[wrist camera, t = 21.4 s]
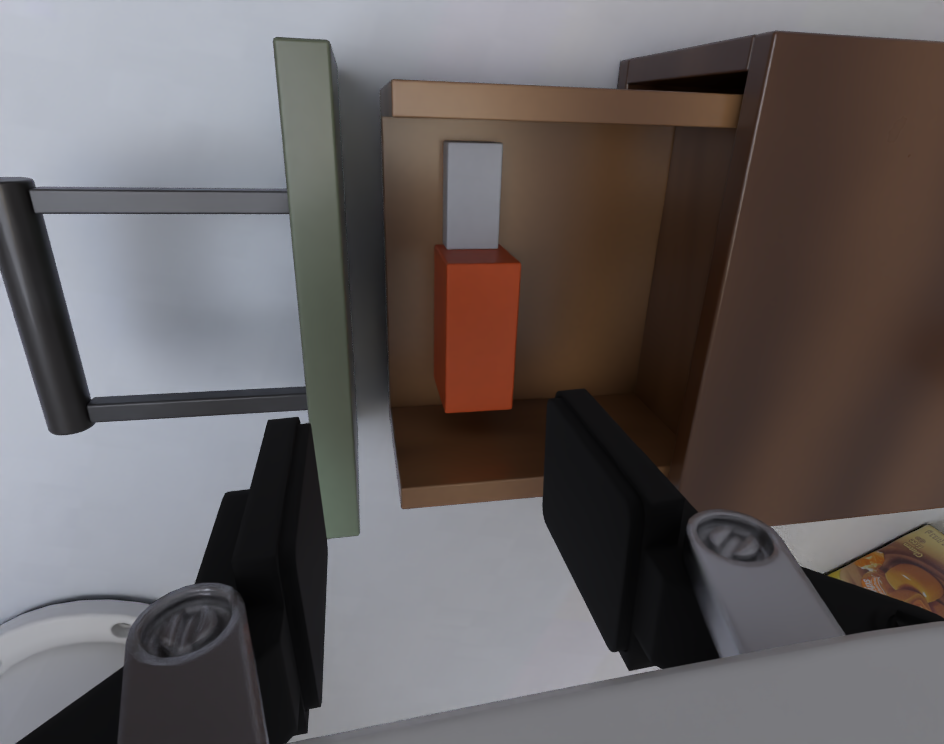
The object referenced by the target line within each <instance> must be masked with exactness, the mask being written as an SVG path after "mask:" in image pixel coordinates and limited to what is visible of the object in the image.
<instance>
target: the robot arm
mask: <svg viewBox="0 0 944 744" xmlns="http://www.w3.org/2000/svg"><path fill="white" fill-rule="evenodd" d="M542 506H543V516H544V520H545V523H546V525H547V527H548V529H549V531H550V533H551V535H552V537H553V539H554V541H555V543H556V545H557V547H558V549H559V551H560V553H561V555H562V557H563V559H564V561H565V563H566V565H567V567H568V569H569V571H570V573H571V575H572V577H573V579H574V581H575V583H576V585H577V587H578V589H579V591H580V593H581V595H582V597H583V599H584V601H585V603H586V605H587V607H588V609H589V611H590V613H591V615H592V617H593V619H594V621H595V623H596V625H597V627H598V629H599V631H600V633H601V635H602V637H603V639H604V641H605V643H606V645H607V647H608V648H609V650H610V651H611V652H617V651H619V653H620V655H621V656H622V658H623V660H624V662H625V664H626V666H627V668H628V670H629V671H631V670H636V669H641V668H647V667H652V666H657V667H659V668H661V670H656V671H650V672H645V673H640V674H635V675H630V676H625V677H619V678H614V679H609V680H604V681H599V682H594V683H588V684H583V685H578V686H573V687H568V688H563V689H558V690H552V691H547V692H542V693H537V694H532V695H527V696H522V697H517V698H512V699H507V700H501V701H496V702H491V703H486V704H481V705H476V706H471V707H466V708H461V709H456V710H450V711H445V712H440V713H435V714H431V715H426V716H421V717H416V718H411V719H406V720H401V721H396V722H391V723H386V724H381V725H376V726H371V727H366V728H361V729H356V730H351V731H346V732H341V733H336V734H331V735H326V736H321V737H316V738H311V739H306V740H301V741H296V742H291V743H287V742H288V741H289V740H290V739H291V738H292V737H293V736H295V735H301V734H306V733H308V717H309V709H312V708H317V707H321V703H322V683H323V658H324V634H325V609H326V584H327V559H328V547H327V535H326V528H325V521H324V514H323V506H322V499H321V492H320V485H319V478H318V470H317V463H316V456H315V449H314V441H313V434H312V428H311V424H310V423H306V424H300V420H299V417H292V418H282V419H272V420H268V422H267V425H266V429H265V433H264V437H263V441H262V445H261V448H260V452H259V456H258V460H257V464H256V468H255V472H254V475H253V479H252V483H251V487H250V489H248V490H239V491H231V492H227V493H225V495H224V497H223V499H222V502H221V505H220V508H219V511H218V514H217V517H216V521H215V524H214V527H213V530H212V533H211V536H210V539H209V542H208V545H207V548H206V551H205V554H204V557H203V560H202V563H201V566H200V569H199V573H198V576H197V579H196V582H195V584H194V585H189V586H185V587H183V588H180V589H178V590H175V591H172V592H170V593H168V594H166V595H165V596H163V597H161V598H160V599H158V600H156V601H155V602H153V603H152V604H151V605H149V604H145V603H141V602H132V601H122V600H112V599H106V600H79V601H73V602H67V603H61V604H55V605H49V606H46V607H43V608H40V609H37V610H34V611H30V612H27V613H24V614H22V615H20V616H18V617H16V618H14V619H12V620H10V621H8V622H6V623H4V624H2V625H0V744H944V618H943V617H941V616H940V615H938V614H935V613H933V612H931V611H928V610H926V609H924V608H921V607H919V606H916V605H913V604H910V603H907V602H904V601H901V600H898V599H895V598H892V597H889V596H886V595H883V594H880V593H878V592H875V591H872V590H869V589H866V588H863V587H860V586H857V585H854V584H851V583H848V582H845V581H842V580H839V579H836V578H833V577H830V576H827V575H825V574H822V573H819V572H816V571H813V570H810V569H807V568H804V567H801V566H800V565H799V564H798V562H797V561H796V559H795V558H794V556H793V555H792V553H791V552H790V550H789V549H788V547H787V546H786V544H785V543H784V541H783V540H782V538H781V537H780V536H779V535H778V534H777V533H776V532H775V530H774V529H773V528H771V527H770V526H768V525H767V524H765V523H764V522H762V521H761V520H759V519H756V518H754V517H752V516H750V515H748V514H744V513H740V512H737V511H733V510H724V509H712V510H704V511H702V512H699V513H698V511H697V510H696V509H695V508H694V507H693V506H692V505H691V504H690V503H689V502H688V500H687V499H686V498H685V497H684V496H683V495H682V494H681V493H680V492H679V491H678V489H677V488H676V487H675V486H674V485H673V484H672V483H671V482H670V481H669V480H668V478H667V477H666V476H665V475H664V474H663V473H662V472H661V471H660V470H659V469H658V467H657V466H656V465H655V464H654V463H653V462H652V461H651V460H650V459H649V458H648V456H647V455H646V454H645V453H644V452H643V451H642V450H641V449H640V448H639V447H638V446H637V445H636V444H635V443H634V442H633V441H632V440H631V438H630V437H629V436H628V435H627V434H626V433H625V432H624V431H623V430H622V429H621V427H620V426H619V425H618V424H617V423H616V422H615V421H614V420H613V419H612V417H611V416H610V415H609V414H608V413H607V412H606V411H605V410H604V409H603V408H602V406H601V405H600V404H599V403H598V402H597V401H596V400H595V399H594V398H593V397H592V395H591V394H590V393H589V392H588V391H587V390H586V389H584V388H583V389H573V390H563V391H557V393H556V395H555V398H552V399H549V400H548V402H547V412H546V435H545V458H544V481H543V505H542Z"/></svg>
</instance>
